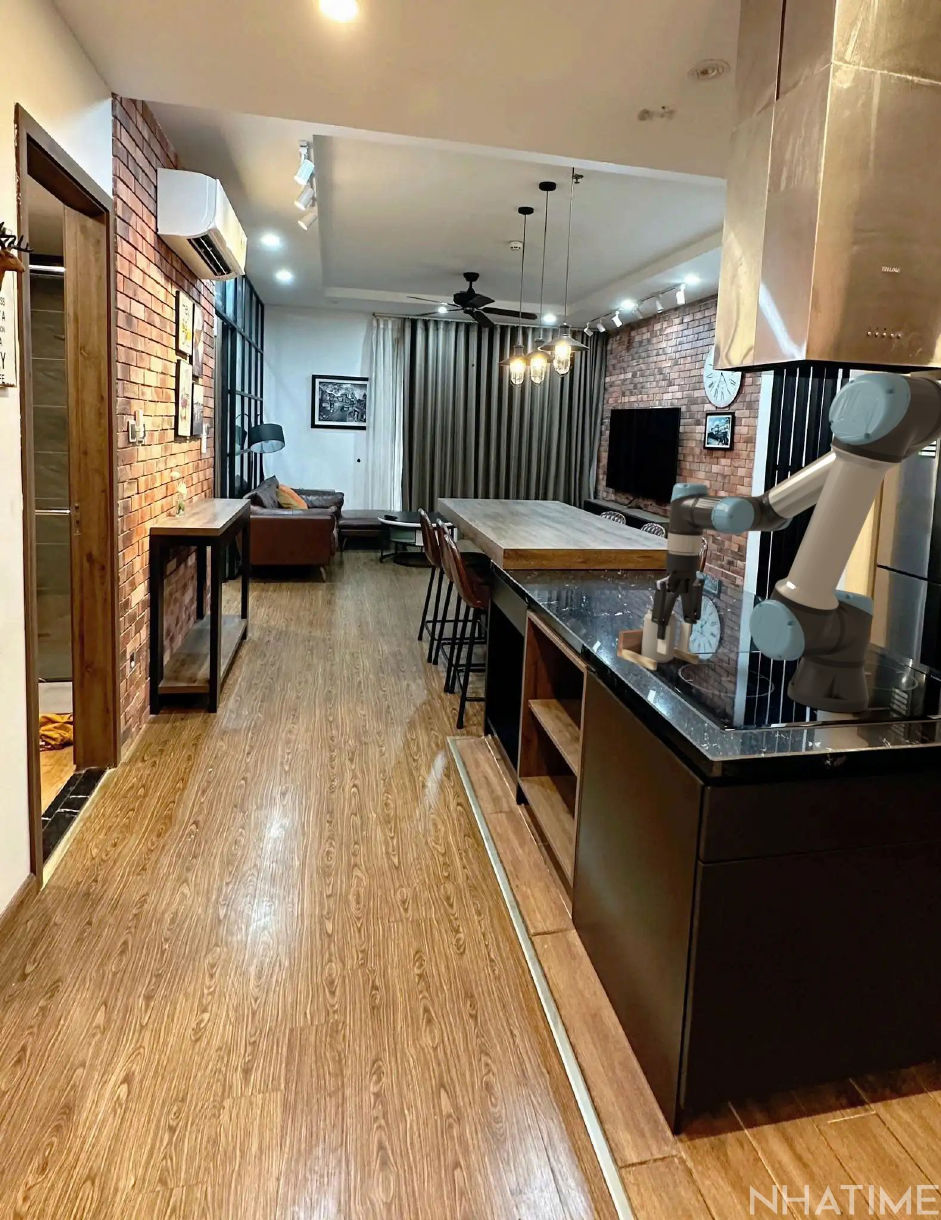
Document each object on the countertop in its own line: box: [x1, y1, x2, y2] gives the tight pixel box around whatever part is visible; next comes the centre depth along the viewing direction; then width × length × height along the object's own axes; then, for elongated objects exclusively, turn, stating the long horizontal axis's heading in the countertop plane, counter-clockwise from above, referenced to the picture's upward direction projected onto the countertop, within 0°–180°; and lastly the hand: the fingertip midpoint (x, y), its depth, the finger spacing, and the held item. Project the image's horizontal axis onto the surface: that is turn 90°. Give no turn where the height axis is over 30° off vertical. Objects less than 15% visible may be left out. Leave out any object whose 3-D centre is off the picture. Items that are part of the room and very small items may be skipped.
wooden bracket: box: [616, 628, 700, 671], centre depth 182 cm, size 12×14×6 cm
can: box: [641, 608, 678, 664], centre depth 182 cm, size 8×8×12 cm
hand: (672, 651), depth 178 cm, fingers open, 6 cm apart
